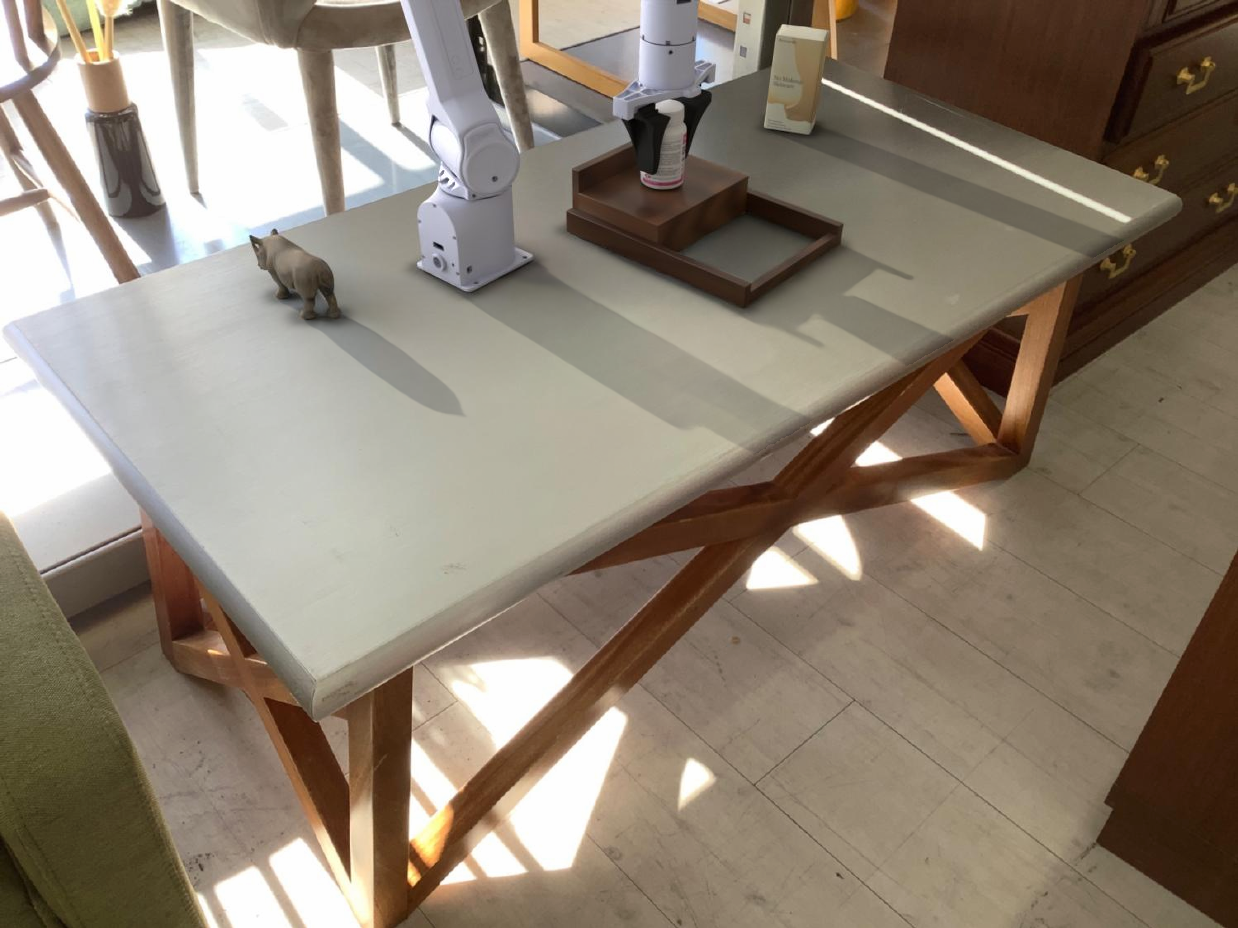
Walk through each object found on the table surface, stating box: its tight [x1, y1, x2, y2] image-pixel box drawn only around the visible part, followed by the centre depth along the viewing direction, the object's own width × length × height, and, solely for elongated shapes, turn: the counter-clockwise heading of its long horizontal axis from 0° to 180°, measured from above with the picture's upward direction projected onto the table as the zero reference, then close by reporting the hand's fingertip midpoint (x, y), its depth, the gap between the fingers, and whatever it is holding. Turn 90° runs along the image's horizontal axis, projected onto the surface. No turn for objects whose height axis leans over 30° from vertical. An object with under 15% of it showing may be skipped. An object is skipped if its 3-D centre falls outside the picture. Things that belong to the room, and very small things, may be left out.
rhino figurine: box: [248, 227, 342, 320], centre depth 109 cm, size 4×14×6 cm, turn 43°
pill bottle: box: [640, 99, 687, 189], centre depth 118 cm, size 5×5×8 cm
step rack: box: [565, 140, 844, 309], centre depth 119 cm, size 18×24×7 cm
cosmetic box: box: [763, 23, 831, 136], centre depth 141 cm, size 6×4×12 cm
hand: (662, 164), depth 120 cm, fingers closed on pill bottle, 5 cm apart
